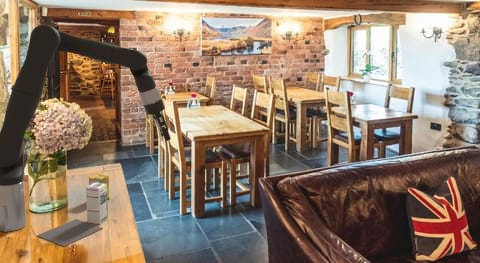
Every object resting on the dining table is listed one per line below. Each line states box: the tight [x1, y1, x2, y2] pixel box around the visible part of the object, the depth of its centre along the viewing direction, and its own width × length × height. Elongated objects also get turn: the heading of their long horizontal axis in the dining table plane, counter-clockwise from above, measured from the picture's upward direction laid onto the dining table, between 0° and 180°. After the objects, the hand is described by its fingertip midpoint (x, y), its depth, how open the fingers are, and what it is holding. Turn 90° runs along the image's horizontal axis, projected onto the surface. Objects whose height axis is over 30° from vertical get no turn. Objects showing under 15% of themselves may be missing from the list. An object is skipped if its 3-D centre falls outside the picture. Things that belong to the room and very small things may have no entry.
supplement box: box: [88, 173, 110, 201], centre depth 182 cm, size 6×6×11 cm
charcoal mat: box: [36, 218, 103, 248], centre depth 153 cm, size 17×14×1 cm
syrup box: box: [85, 183, 109, 225], centre depth 162 cm, size 6×6×14 cm
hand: (166, 137), depth 169 cm, fingers open, 8 cm apart
